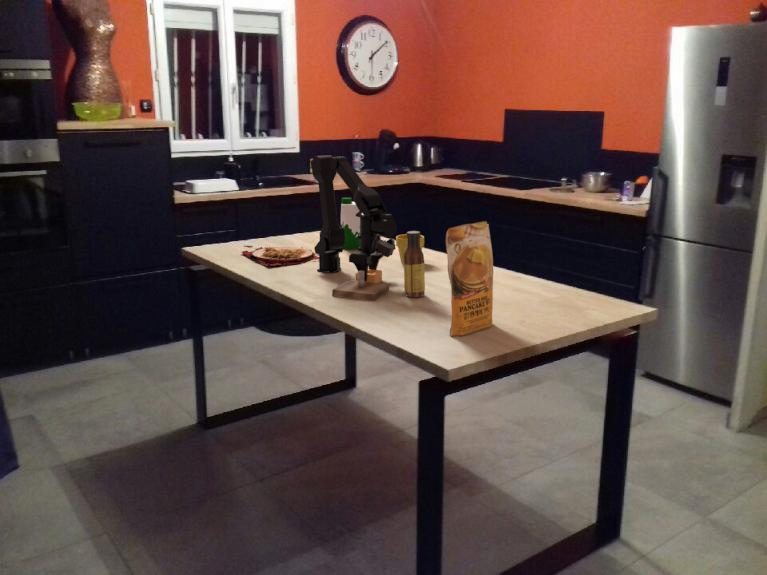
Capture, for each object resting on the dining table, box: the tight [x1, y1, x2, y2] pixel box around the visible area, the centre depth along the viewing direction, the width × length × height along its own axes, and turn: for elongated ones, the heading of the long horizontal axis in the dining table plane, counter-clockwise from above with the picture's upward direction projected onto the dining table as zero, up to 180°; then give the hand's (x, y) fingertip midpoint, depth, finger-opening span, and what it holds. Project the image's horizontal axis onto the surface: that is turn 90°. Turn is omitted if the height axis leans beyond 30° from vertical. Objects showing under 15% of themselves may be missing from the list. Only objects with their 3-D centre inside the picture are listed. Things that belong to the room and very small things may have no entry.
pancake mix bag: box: [445, 220, 494, 337], centre depth 181 cm, size 7×19×28 cm, turn 131°
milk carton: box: [340, 197, 360, 251], centre depth 278 cm, size 9×9×20 cm
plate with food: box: [241, 245, 319, 267], centre depth 264 cm, size 25×26×4 cm
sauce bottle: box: [403, 230, 426, 299], centre depth 212 cm, size 7×6×20 cm
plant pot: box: [395, 233, 425, 265], centre depth 255 cm, size 10×10×10 cm
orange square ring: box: [355, 268, 383, 284], centre depth 229 cm, size 7×7×4 cm
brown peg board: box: [331, 270, 390, 302], centre depth 216 cm, size 14×12×7 cm
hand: (368, 278), depth 229 cm, fingers closed on orange square ring, 7 cm apart
